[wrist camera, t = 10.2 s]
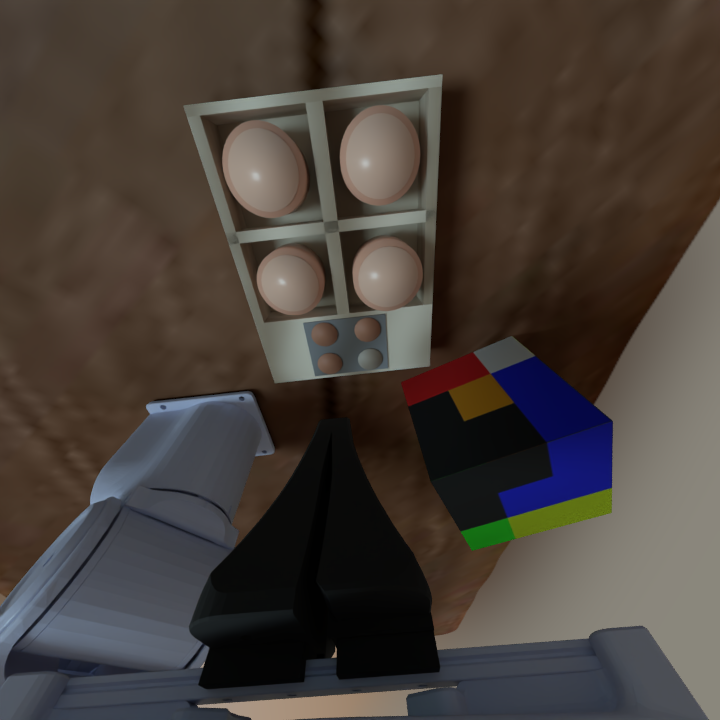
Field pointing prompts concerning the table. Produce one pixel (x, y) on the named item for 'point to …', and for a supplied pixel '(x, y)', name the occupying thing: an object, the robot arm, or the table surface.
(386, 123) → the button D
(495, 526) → the puzzle toy
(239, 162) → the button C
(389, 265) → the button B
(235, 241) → the egg tray
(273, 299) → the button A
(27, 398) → the table surface
